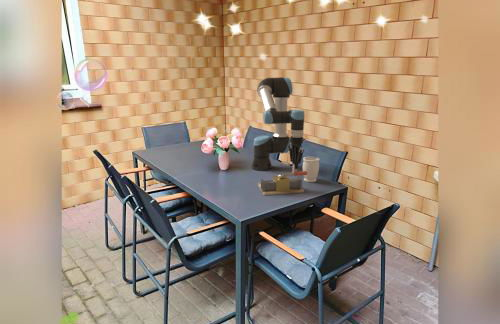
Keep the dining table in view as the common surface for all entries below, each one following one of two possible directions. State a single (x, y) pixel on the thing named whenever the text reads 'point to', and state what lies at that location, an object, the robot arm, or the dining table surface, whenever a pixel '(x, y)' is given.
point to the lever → (293, 174)
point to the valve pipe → (281, 184)
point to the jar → (311, 168)
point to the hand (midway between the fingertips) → (294, 173)
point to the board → (280, 191)
